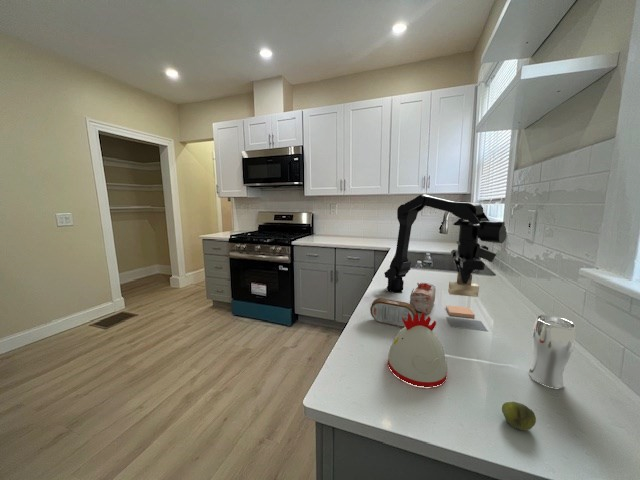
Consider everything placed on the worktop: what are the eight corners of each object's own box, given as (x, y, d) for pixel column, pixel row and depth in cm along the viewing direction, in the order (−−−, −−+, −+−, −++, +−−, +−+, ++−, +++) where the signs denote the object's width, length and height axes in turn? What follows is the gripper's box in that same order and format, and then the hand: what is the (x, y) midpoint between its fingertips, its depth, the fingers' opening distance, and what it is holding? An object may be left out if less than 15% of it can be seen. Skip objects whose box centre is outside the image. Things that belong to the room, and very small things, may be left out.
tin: (415, 326, 83) (417, 303, 81) (415, 331, 80) (416, 307, 78) (371, 317, 89) (371, 295, 88) (368, 321, 86) (369, 298, 85)
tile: (445, 310, 96) (449, 317, 90) (446, 305, 95) (449, 312, 90) (468, 312, 94) (474, 320, 88) (469, 307, 93) (474, 314, 88)
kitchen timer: (382, 350, 70) (385, 300, 67) (432, 351, 70) (436, 301, 67) (396, 388, 56) (399, 327, 54) (457, 389, 56) (464, 328, 53)
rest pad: (449, 327, 82) (450, 326, 82) (445, 317, 89) (445, 316, 89) (488, 332, 79) (488, 331, 79) (480, 322, 86) (480, 320, 86)
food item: (430, 317, 89) (432, 291, 88) (407, 312, 93) (409, 287, 92) (435, 303, 101) (437, 280, 99) (415, 299, 105) (416, 277, 103)
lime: (496, 416, 49) (499, 394, 48) (519, 415, 49) (523, 393, 48) (515, 438, 45) (518, 414, 44) (540, 436, 45) (544, 412, 44)
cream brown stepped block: (449, 294, 90) (451, 273, 88) (448, 291, 92) (450, 271, 91) (477, 297, 87) (480, 275, 86) (475, 294, 90) (478, 273, 88)
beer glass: (557, 395, 54) (569, 332, 51) (520, 375, 60) (529, 317, 58) (571, 384, 57) (583, 324, 55) (534, 366, 63) (543, 311, 61)
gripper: (506, 245, 75) (500, 294, 78) (485, 236, 93) (480, 276, 95) (465, 243, 78) (460, 290, 81) (452, 235, 96) (448, 273, 98)
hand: (463, 282), depth 89 cm, fingers closed on cream brown stepped block, 2 cm apart
